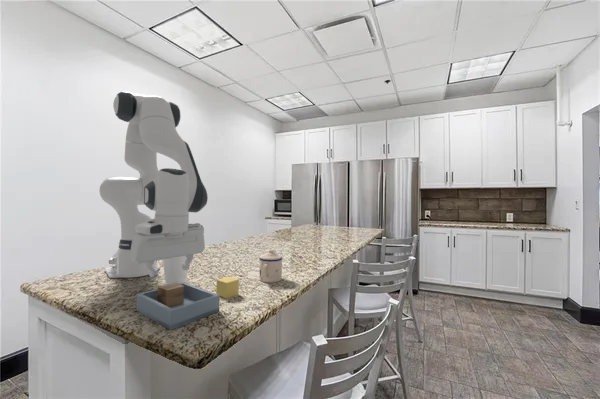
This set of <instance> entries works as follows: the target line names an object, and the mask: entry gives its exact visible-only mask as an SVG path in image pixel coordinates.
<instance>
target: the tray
mask: <svg viewBox="0 0 600 399" xmlns="http://www.w3.org/2000/svg"><path fill="white" fill-rule="evenodd" d="M180 285H183V286H184V303H183V304H180V305H177V306H173V307H168V306H166V305H164V304H162V303H160V302H158V288H157V289H152V290H148V291H144V292H139V293H136V311H137V312H138V311H139V312H138V313H140V312H141V313H140V314H142V315H144V316H145V315H146V316H145V317H147V316H148V317H147V318H149V319H150V318H151V319H150V320H152V321H154V322H155V321H156V323H157V324H159V325H161V326H163V327H164V328H166V329H168V330H169V331H172V330H174V329H177V328H180V327H182V326H184V325H187V324H189V323H193V322H195V321H198V320H201V319H202V318H203V319H204V318H205V317H208V316H211V315H213V314H214V315H215V314H216V313H219V312H220V297H221V296H220V295H218V294H216V293H214V292H211V291H209V290H206V289H204V288H201V287H198V286H196V285H193V284H190V283H187V282H186V283H185V282H184V283H180Z"/></svg>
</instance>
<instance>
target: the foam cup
mask: <svg viewBox="0 0 600 399" xmlns="http://www.w3.org/2000/svg"><path fill="white" fill-rule="evenodd" d="M186 259H187V257H186V256H180V257H174V258H168V259H162V265H163V271H164V272H163V273H164V280H165V285H167V284H171V283H178V284H180V283H184V282H185V283H187V278H188V273H189V272H188V271H189V269H188V270H182V264H183V263H185V261H186Z"/></svg>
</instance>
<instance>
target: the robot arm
mask: <svg viewBox="0 0 600 399" xmlns="http://www.w3.org/2000/svg"><path fill="white" fill-rule="evenodd" d="M113 110H114V114H115V116H116V117H117V119H119V120H121V121H122V122H126V123H128V124H127V129H126V135H125V145H124V162H125V163H126V165H127V166H128V167H131V168H132V169H133V170H135V171H137V172H138V174H139V177H124V176H116V177H115V176H114V177H109V178H106V179H104V180H103V181H102V183H101V184H100V186H99V191H98V192H99V196H100V198H101V199H102V200H103V201H104V202H105V203H107V204H108V205H109V206H110V207H112V208H113V209H114V210H115V211H116V213H117V215H118V217H119V221H120V229H121V230H120V232H121V234H120V235H121V236H120V237H121V238H120V239H119V242H118V250H117V251H116V252H115V253H114V254H113V255H112V257H111V258H108V265H110V266H108V267H105V269H104V272H105V273H106V274H107V276H108V278H109V279H116V278H117V279H118V278H125V279H126V278H138V277H144V276H149V277H150V278H155V277H158V272H159V270H160V269H161V266H160V265H158V261H161V260H162V261H163V259H168V258H174V257H180V256H186V257H187V259H186V261H185V263H183V264H182V270H188V271H189V270H190V266H191V265H190V264H191V263H192V261H193V260H194V255H196V254H201V253H204V250H206V249H205V248H206V247H205V246H206V245H205V235H204V234H205V227H204V226H203V225H202V224H200V223H199V222H198V223H189V222H190V219H189V215H190V213H198V212H200V211H202V209H204V208H205V207H206V205H207V203H208V193H207V192H208V191H207V189H206V187H205V185H204V183H203V181H202V179H201V177H200V173H199V170H198V168H197V165H196V161H195V159H194V156H193V153H192V150H191V148H190V145H189V144H188V142H187V141H185V140H184V139H183V138H182V137H181V136H180V134H179V133H178V131H177V127H179V124H180V122H181V110H180V107H179V105H177V104H176V103H174V102H172V101H168V100H166V99H165V98H163V97H161V96H158V95H157V96H156V95H145V94H139V93H133V92H131V91H120V92H118V93H117V94H116V96H115V97H114V99H113ZM157 154H161V155H163V156H165V157H168V158H170V159H171V160H174V162H175V163H177V164H178V165H179V167H180V169H176V168H160V169H158V162H157V156H158V155H157ZM141 205H143V206H146V207H147V208H148V209H149V210H151V211H153V212H154V218H151V216H149V215H147V214H145V213H143V212H141V211H139V209H138V206H141Z"/></svg>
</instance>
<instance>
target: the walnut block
mask: <svg viewBox="0 0 600 399" xmlns="http://www.w3.org/2000/svg"><path fill="white" fill-rule="evenodd" d="M157 289H158V302H160V303H162V304H164V305H166V306H168V307H173V306H177V305H180V304H183V303H184V286H183V285H180V284H178V283H171V284H167V285H166V284H162V285H159V286H157Z"/></svg>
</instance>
